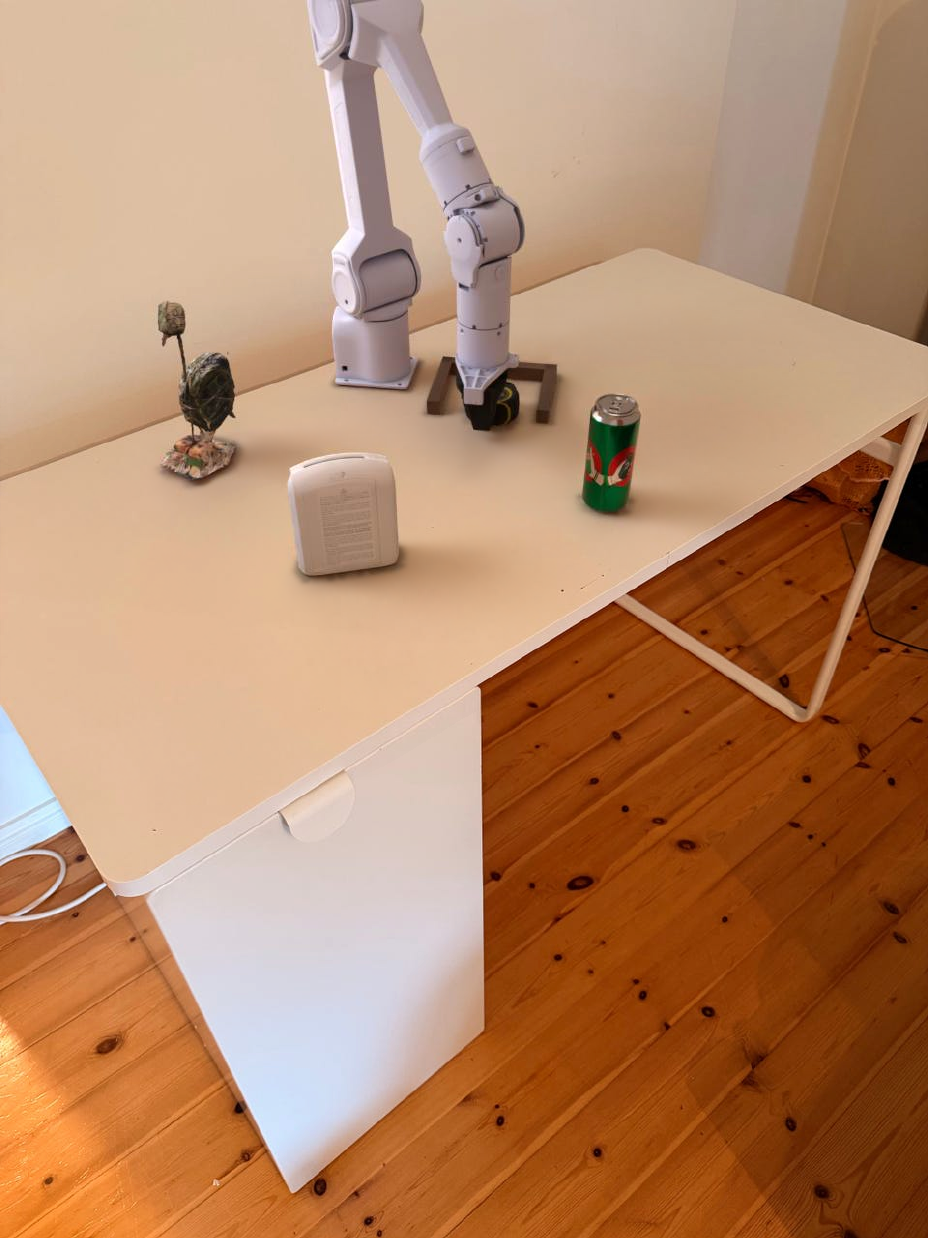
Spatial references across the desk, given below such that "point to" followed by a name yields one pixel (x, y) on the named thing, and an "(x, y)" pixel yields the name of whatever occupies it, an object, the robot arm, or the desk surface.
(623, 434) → the soda can
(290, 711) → the desk surface
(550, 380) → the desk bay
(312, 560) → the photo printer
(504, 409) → the tape measure
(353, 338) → the robot arm
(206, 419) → the plant with pod
